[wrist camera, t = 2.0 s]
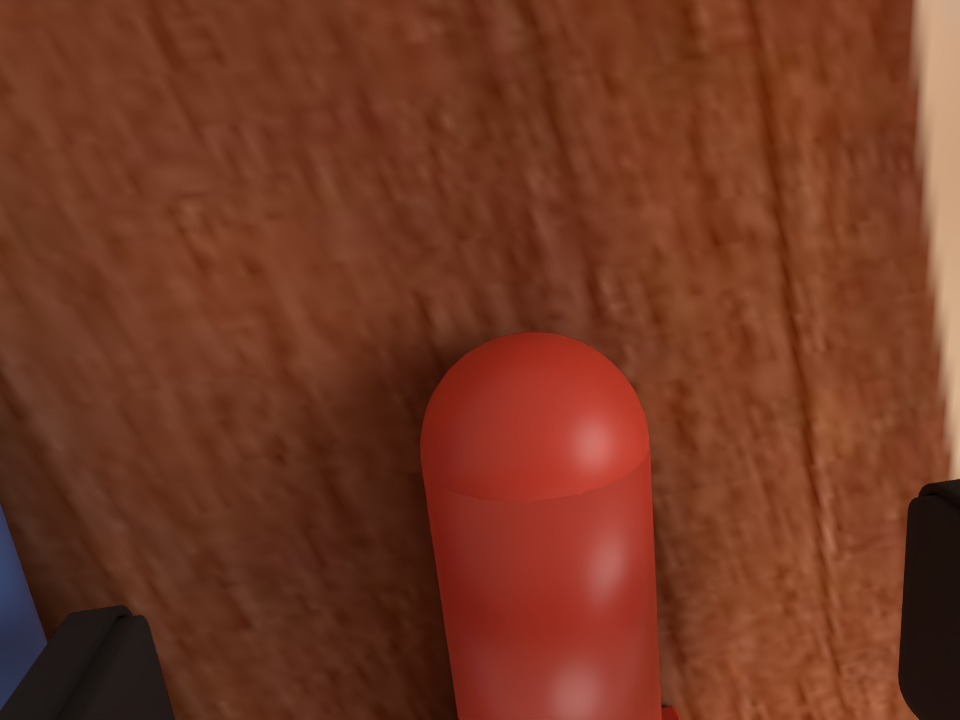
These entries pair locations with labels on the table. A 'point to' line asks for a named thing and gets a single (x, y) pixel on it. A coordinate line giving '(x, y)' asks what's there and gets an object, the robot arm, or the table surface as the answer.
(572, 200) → the table surface
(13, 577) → the blue stamp block
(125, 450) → the table surface
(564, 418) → the red stamp
